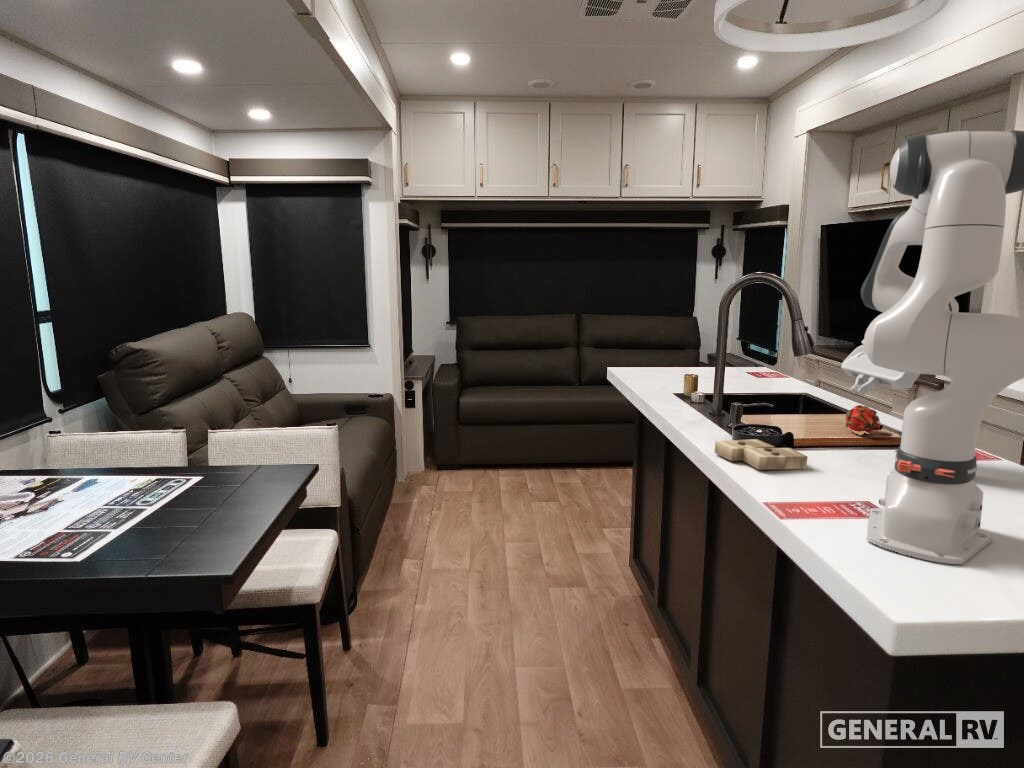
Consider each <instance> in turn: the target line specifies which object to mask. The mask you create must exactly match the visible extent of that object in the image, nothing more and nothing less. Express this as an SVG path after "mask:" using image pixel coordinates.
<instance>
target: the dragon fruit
mask: <svg viewBox="0 0 1024 768" xmlns="http://www.w3.org/2000/svg"><path fill="white" fill-rule="evenodd" d="M877 413H878V412H877V411H876V410H875V409H871V408H869V406H867V405H862V404H861V405H860V404H859V405H858V404H857V405H855V406H854V407H852V408H851V409H850V410H848V411H847V412H846V416H845V421H846V422H845V428H846V427H849V428H850V429H852V430H855V431H859V432H860V431H866V432H868V433H872V432H873V433H875V431H881V430H883V428H884V425H883V424H881V421H880V420H881V419H880V417H879V415H877ZM874 430H875V431H874ZM873 433H872V434H873Z"/></svg>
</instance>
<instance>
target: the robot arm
mask: <svg viewBox="0 0 1024 768" xmlns="http://www.w3.org/2000/svg"><path fill="white" fill-rule="evenodd" d="M889 176H890V179H891V180H890V181H891V182H892V186H893V189H894V190H895V191H896V192H897V193H899V194H901V195H904V196H908V197H912V199H911V204H910V207H909V208H908V209H907V210H904V211H901V212H900V213H899V214H897V215H896V216H895V217H894V219H893V220H892V221H891V223H890V224H889V226H888V228H887V230H886V233H885V234H884V236H883V238H882V241H881V244H880V246H879V249H878V251H877V254H876V256H875V259H874V261H873V264H872V266H871V268H870V270H869V273H868V275H867V276H866V278H865V279H864V281H863V283H862V286H861V289H860V297H861V299H862V300H861V301H862V302H863V305H864V306H865V307H866V308H869V309H872V310H875V311H877V312H881V313H880V314H879V315H877V316H876V317H875V318H874V319H873V320H872V321H870V322H869V323H870V324H869V325H867V326H868V327H867V328H866V330H865V333H864V338H863V340H861V345H859V346H857V347H856V348H855V349H853V351H852V352H851V353H850V354H849V355H847V357H846V358H845V359H844V360H843V361H842V363H841V366H840V368H841V370H842V371H843V372H844V373H845V374H846V376H848V377H851V378H855V382H854V384H853V385H852V386H851V388H850V391H851V392H852V393H853V394H855V395H859V396H862V397H863V396H864V395H866V394H867V392H869V391H871V390H873V389H876V388H877V387H879V385H882V386H884V387H889V388H891V389H892V388H893V389H896V390H899V391H905V390H907V389H909V388H910V387H911V386H912V385H914V383H915V381H916V380H917V379H918V378H919V377H920V375H929V376H930V375H933V376H944V377H947V378H949V379H950V383H949V385H948V386H947V387H945V388H944V389H942V390H939V391H936V392H932V393H928V394H925V395H923V396H920V397H918V398H915V399H914V400H912V401H911V402H909V403H908V404H907V405H906V407H905V409H904V412H903V419H902V425H901V426H902V427H901V437H900V445H899V446H898V447H897V449H896V453H895V458H894V460H895V462H894V470H892V471H890V472H889V473H886V478H885V479H886V480H885V489H884V490H885V491H884V497H880V498H879V500H878V504H879V506H880V507H873V508H870V510H869V513H868V525H867V535H866V541H867V540H868V541H869V542H868V541H867V542H868V543H870V542H871V543H870V544H872V543H873V544H872V545H874V544H876V545H878V546H877V547H879V546H880V547H879V548H881V547H883V548H882V549H884V548H886V549H885V550H887V549H889V550H888V551H890V550H893V551H895V552H894V553H896V552H898V553H897V554H901V555H904V556H907V555H908V557H911V556H912V557H913V558H916V559H921V560H925V561H930V562H935V563H942V564H949V565H963V564H965V563H966V562H967V561H969V560H970V559H971V558H973V556H975V555H976V554H977V553H979V552H980V551H981V550H982V549H983V548H985V547H986V546H988V545H989V544H990V543H992V542H993V540H992V539H993V536H992V534H991V532H987V531H986V530H984V529H982V528H981V523H982V513H983V500H984V491H983V490H982V488H980V487H979V486H978V485H977V484H976V482H975V481H974V479H975V478H976V472H977V468H978V464H977V462H978V461H977V460H978V459H977V457H976V456H975V455H976V448H977V447H976V446H977V441H978V436H979V431H980V426H981V423H982V420H983V416H984V414H985V412H986V410H987V408H988V407H989V405H990V404H991V403H992V401H993V399H995V398H996V397H997V396H998V394H1000V393H1001V392H1002V391H1003V390H1005V389H1007V388H1008V387H1009V386H1010V385H1012V384H1014V383H1016V382H1018V381H1021V380H1022V379H1024V317H1020V316H1013V315H1008V314H1002V313H988V312H987V313H986V312H985V313H984V312H982V313H981V312H961V311H960V312H959V309H960V306H959V303H958V301H957V300H956V299H955V298H956V297H957V296H960V295H962V294H966V293H968V292H971V291H973V290H976V289H978V288H980V287H983V286H985V285H987V284H988V283H990V282H991V281H993V279H994V278H995V277H996V275H997V274H998V272H999V269H1000V263H1001V255H1002V247H1003V238H1004V232H1005V224H1006V222H1005V221H1006V208H1007V199H1006V198H1007V195H1008V194H1014V193H1018V192H1022V191H1023V190H1024V130H1017V129H1016V130H1014V129H1013V130H1012V129H1011V130H1010V131H996V130H995V131H993V130H986V131H985V130H976V131H969V130H957V131H956V130H955V131H949V132H941V133H935V134H934V133H933V134H929V135H926V134H919V135H915V136H910V137H908V138H905V139H904V140H902V142H901V143H900V144H899V145H898V147H897V149H896V151H895V152H894V154H893V156H892V158H891V161H890V165H889ZM917 245H918V246H921V247H922V248H921V253H920V259H919V264H918V268H917V272H916V274H915V277H913V276H910V275H908V274H906V273H905V272H903V271H901V269H900V267H899V265H900V263H901V262H902V261H901V260H902V258H903V256H904V254H905V251H906V250H907V247H908V246H917ZM881 506H882V507H881ZM876 545H875V546H876ZM893 551H892V552H893Z"/></svg>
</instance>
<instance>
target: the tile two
mask: <svg viewBox="0 0 1024 768" xmlns="http://www.w3.org/2000/svg"><path fill="white" fill-rule="evenodd" d="M742 461H743V462H744V463H746V464H748V465H749V466H751V467H753V468H755V469H756V470H758V471H760V470H767V471H768V470H806V469H807V464H808V455H805V454H804V453H802V452H799V451H797V450H796V449H793V448H791V447H775V448H744V455H743V460H742Z"/></svg>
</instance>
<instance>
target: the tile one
mask: <svg viewBox="0 0 1024 768" xmlns="http://www.w3.org/2000/svg"><path fill="white" fill-rule="evenodd" d="M714 443H715V444H714V454H716V455H717V456H720V457H721V458H724V459H726V460H728V461H730V462H735V461H737V462H738V461H743V455H744V448H776V447H775V446H774V445H772V444H770V443H767V442H764V441H762V440H760V439H757V438H754V439H750V438H749V439H732V440H731V439H729V440H715V442H714Z"/></svg>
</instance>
